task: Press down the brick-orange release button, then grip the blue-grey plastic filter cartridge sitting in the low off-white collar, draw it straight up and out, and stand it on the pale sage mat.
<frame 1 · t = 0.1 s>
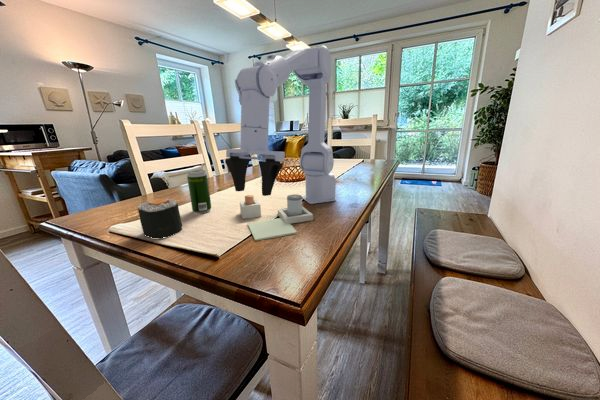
hand: (252, 193, 54), 10 cm above the table, tool pointing down, fingers open, 7 cm apart
sushi: (163, 232, 61), on the table
button housing: (250, 214, 71), on the table
dock: (294, 217, 68), on the table
release button: (249, 200, 70), point 4 cm above the table, slide at 0.0 cm
cartridge: (294, 207, 67), in the dock
beer can: (202, 211, 75), on the table
mat: (271, 228, 61), on the table
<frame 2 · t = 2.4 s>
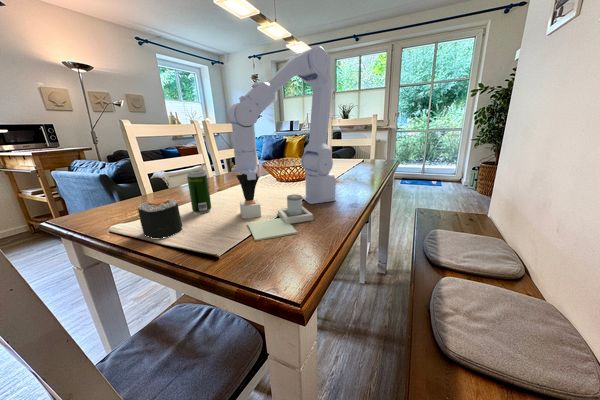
hand: (249, 199, 69), 4 cm above the table, tool pointing down, fingers closed, pressing on release button
release button: (249, 203, 70), point 3 cm above the table, slide at 1.1 cm, touching gripper
everything else where it was.
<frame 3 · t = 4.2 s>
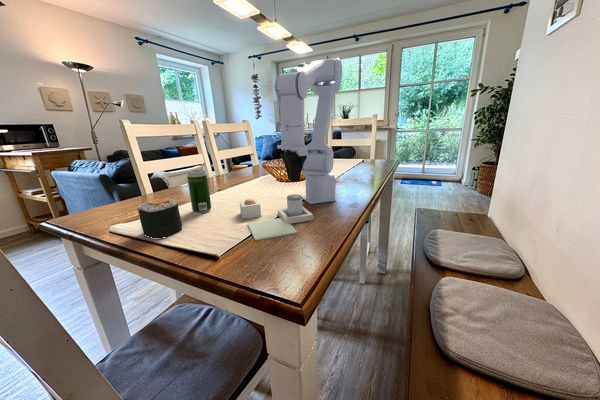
hand: (293, 180, 65), 10 cm above the table, tool pointing down, fingers closed
release button: (249, 204, 70), point 3 cm above the table, slide at 1.2 cm
everything else where it was.
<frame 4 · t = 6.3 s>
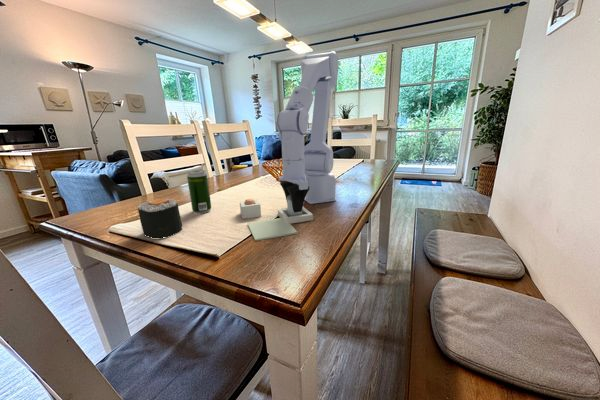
hand: (294, 208, 67), 2 cm above the table, tool pointing down, fingers closed on cartridge, 4 cm apart
cartridge: (294, 207, 67), in the dock, touching gripper
everything else where it was.
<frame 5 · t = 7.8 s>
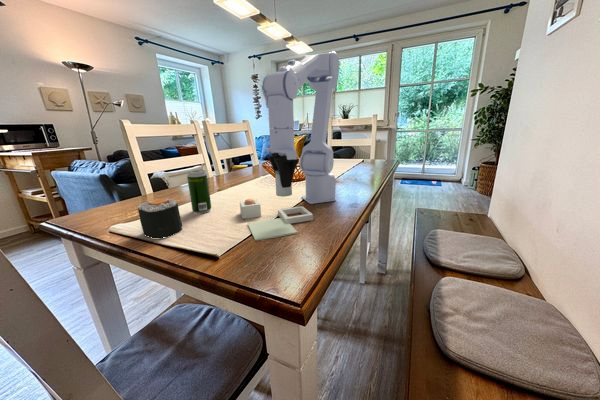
hand: (283, 185, 62), 10 cm above the table, tool pointing down, fingers closed on cartridge, 4 cm apart
cartridge: (283, 182, 62), point 11 cm above the table, touching gripper
everything else where it was.
when the fingers open (4 cm above the table, at t = 9.6 s): cartridge drops 2 cm, resting on mat.
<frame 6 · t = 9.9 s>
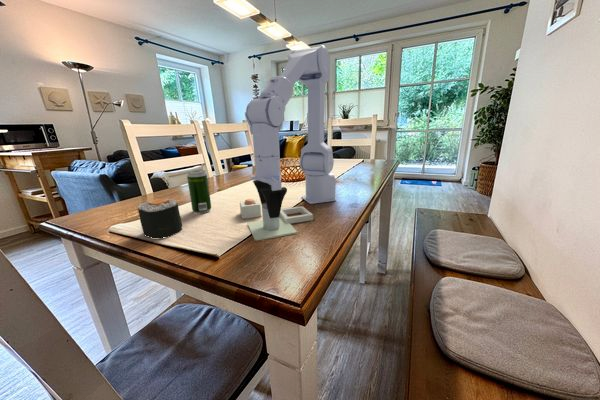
hand: (270, 212, 60), 4 cm above the table, tool pointing down, fingers open, 7 cm apart
cartridge: (270, 216, 60), on the mat
everything else where it was.
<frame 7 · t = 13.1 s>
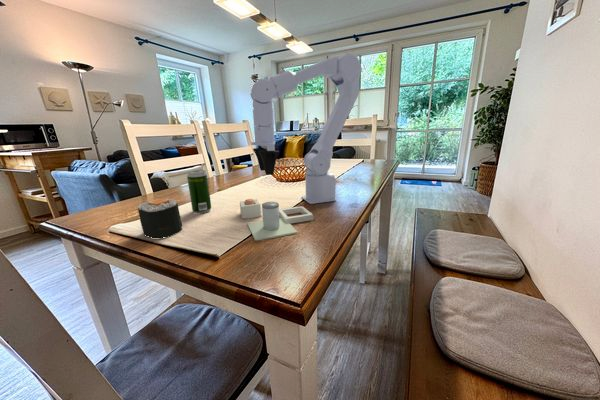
hand: (266, 172, 76), 10 cm above the table, tool pointing down, fingers open, 7 cm apart
nothing on the table moved.
at the end: release button slide at 1.2 cm; cartridge inside the target area (0.0 cm from its centre), resting on mat; cartridge tilted 1° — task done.
